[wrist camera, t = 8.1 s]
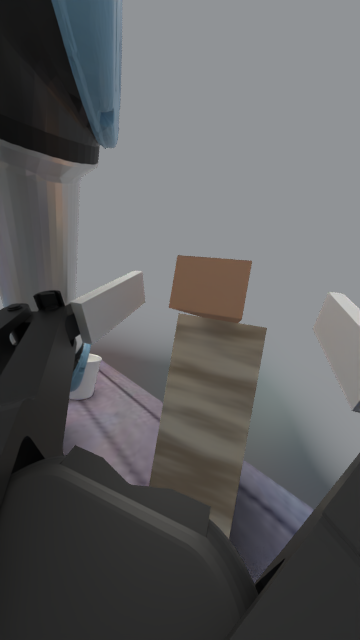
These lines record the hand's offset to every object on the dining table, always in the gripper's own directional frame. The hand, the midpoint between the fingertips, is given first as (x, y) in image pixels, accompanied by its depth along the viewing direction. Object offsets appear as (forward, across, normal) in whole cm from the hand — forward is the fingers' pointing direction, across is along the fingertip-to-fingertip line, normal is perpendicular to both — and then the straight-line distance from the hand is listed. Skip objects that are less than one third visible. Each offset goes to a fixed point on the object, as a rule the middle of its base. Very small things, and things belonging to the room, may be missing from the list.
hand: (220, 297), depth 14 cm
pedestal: (-1, 0, -36) cm, 36 cm away
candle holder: (+14, -42, -45) cm, 63 cm away
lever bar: (+8, 0, -7) cm, 11 cm away
